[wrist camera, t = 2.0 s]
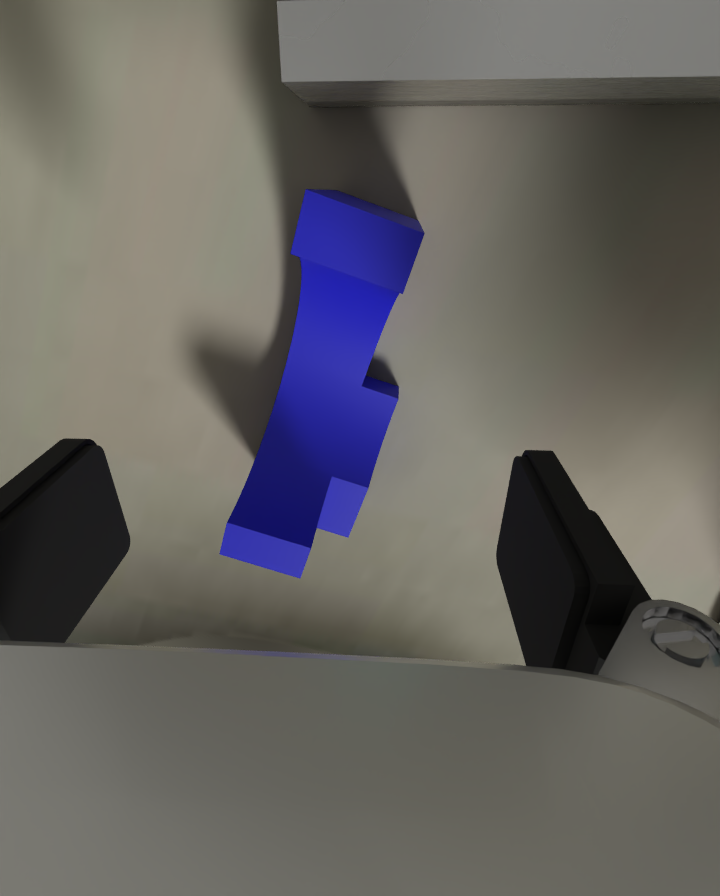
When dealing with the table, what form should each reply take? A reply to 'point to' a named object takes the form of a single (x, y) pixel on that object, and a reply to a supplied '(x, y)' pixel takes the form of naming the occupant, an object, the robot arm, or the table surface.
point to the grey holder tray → (500, 52)
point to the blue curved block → (326, 383)
